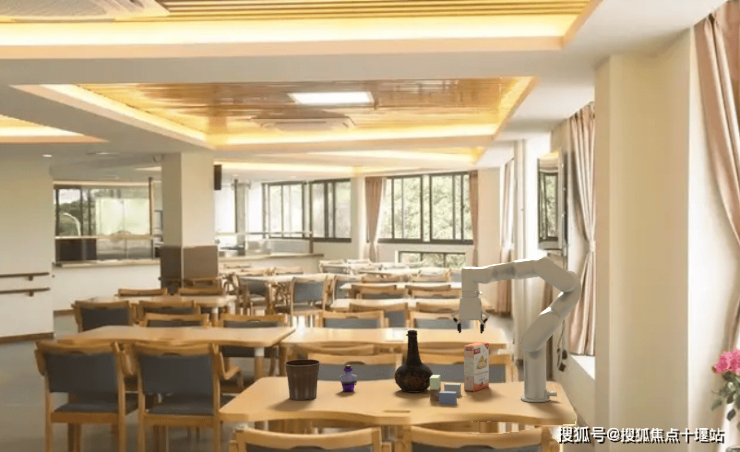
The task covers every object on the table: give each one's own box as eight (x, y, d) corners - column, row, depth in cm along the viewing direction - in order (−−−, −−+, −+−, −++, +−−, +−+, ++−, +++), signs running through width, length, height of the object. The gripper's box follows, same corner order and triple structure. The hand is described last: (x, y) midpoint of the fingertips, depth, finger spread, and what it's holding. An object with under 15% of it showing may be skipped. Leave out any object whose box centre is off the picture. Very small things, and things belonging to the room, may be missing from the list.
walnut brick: (440, 397, 371) (440, 386, 371) (437, 400, 364) (437, 389, 364) (433, 397, 372) (432, 386, 372) (430, 400, 365) (429, 389, 365)
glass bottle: (433, 386, 395) (432, 327, 395) (432, 394, 377) (431, 332, 377) (396, 386, 397) (395, 327, 397) (393, 394, 379) (392, 333, 379)
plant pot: (315, 402, 366) (314, 365, 366) (280, 401, 369) (279, 365, 369) (325, 394, 382) (324, 359, 382) (291, 393, 385) (290, 358, 385)
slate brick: (460, 394, 377) (460, 383, 377) (459, 396, 374) (459, 384, 374) (445, 393, 379) (445, 382, 379) (444, 395, 376) (444, 384, 376)
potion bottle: (360, 391, 387) (360, 365, 387) (343, 393, 383) (343, 367, 383) (353, 388, 395) (352, 362, 395) (336, 390, 391) (335, 364, 391)
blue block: (456, 403, 360) (456, 391, 360) (455, 405, 356) (455, 393, 356) (440, 402, 361) (440, 391, 361) (439, 404, 358) (439, 392, 358)
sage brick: (440, 386, 371) (440, 375, 371) (437, 389, 364) (437, 378, 364) (432, 386, 372) (432, 374, 372) (429, 389, 365) (429, 377, 365)
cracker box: (475, 392, 381) (474, 346, 381) (463, 390, 385) (462, 345, 385) (490, 386, 392) (489, 342, 392) (478, 385, 396) (478, 341, 396)
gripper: (490, 293, 373) (491, 332, 373) (452, 293, 378) (452, 331, 378) (488, 295, 366) (489, 334, 366) (449, 295, 370) (450, 333, 371)
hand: (470, 332), depth 372 cm, fingers open, 9 cm apart
